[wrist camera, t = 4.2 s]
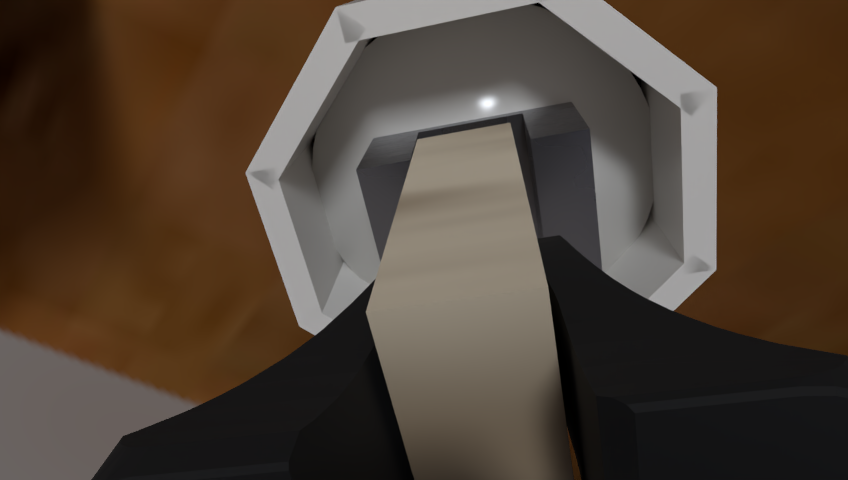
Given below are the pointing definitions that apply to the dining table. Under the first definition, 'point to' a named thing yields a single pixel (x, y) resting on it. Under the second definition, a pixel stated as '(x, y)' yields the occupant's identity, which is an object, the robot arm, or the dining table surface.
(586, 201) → the clip
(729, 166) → the dining table surface
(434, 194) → the wood grain plank
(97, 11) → the dining table surface
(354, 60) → the bowl
